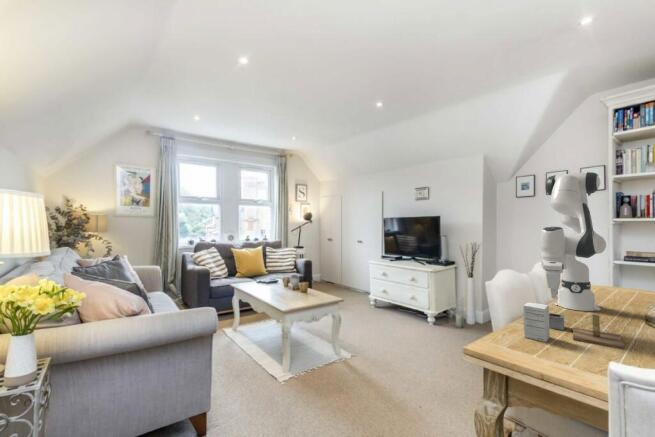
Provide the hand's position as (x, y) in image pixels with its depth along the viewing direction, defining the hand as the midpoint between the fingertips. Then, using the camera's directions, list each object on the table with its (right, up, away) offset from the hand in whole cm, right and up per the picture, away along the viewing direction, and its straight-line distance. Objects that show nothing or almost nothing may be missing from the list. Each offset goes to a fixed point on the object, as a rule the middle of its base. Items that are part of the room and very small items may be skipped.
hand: (554, 296), depth 130 cm
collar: (0, -13, 0) cm, 13 cm away
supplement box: (-16, -13, -11) cm, 24 cm away
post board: (+6, -13, -14) cm, 20 cm away
